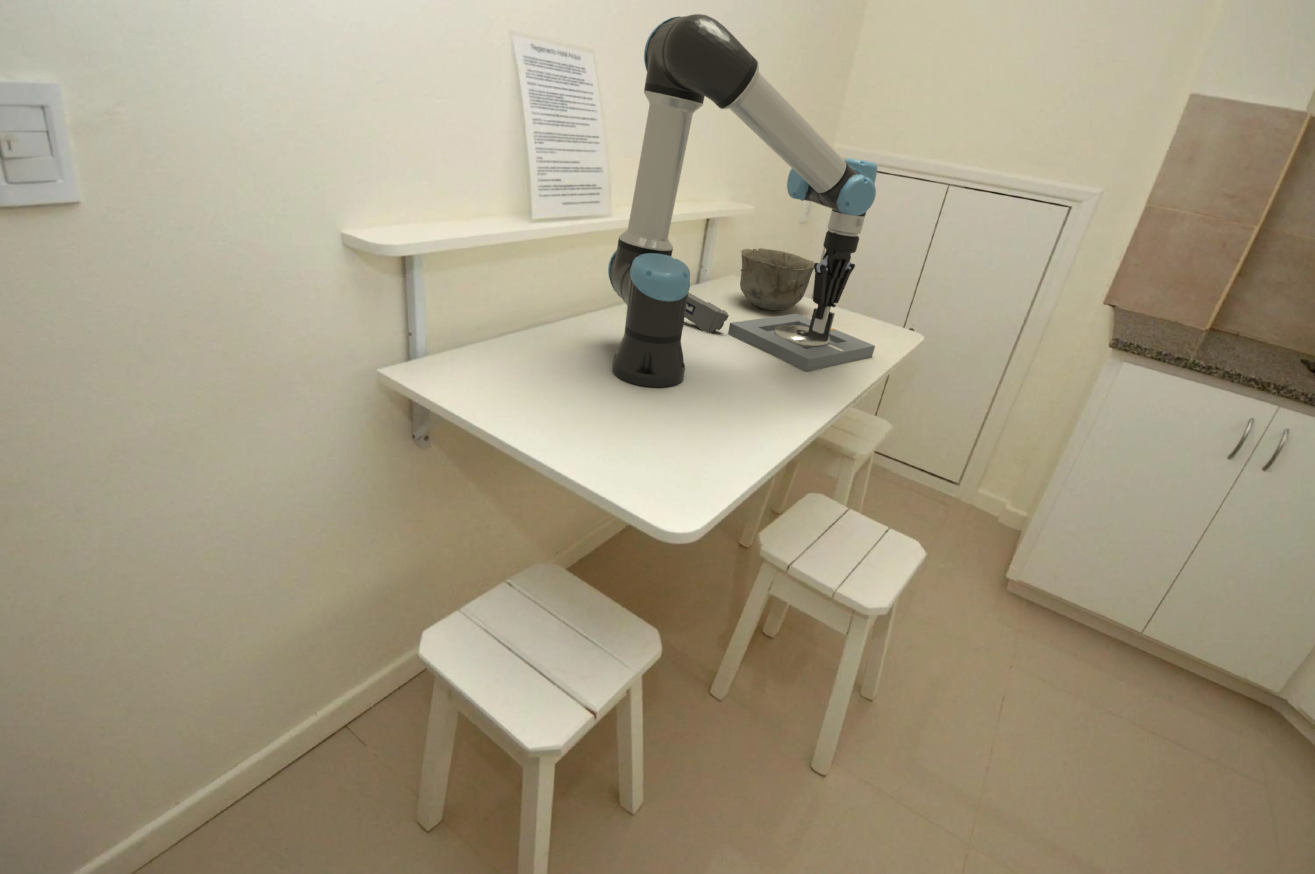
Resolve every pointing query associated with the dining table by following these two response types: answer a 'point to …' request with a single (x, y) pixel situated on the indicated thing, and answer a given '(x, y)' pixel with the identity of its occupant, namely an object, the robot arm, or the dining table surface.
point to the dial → (806, 333)
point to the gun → (704, 314)
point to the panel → (806, 359)
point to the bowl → (774, 278)
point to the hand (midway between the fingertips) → (818, 331)
